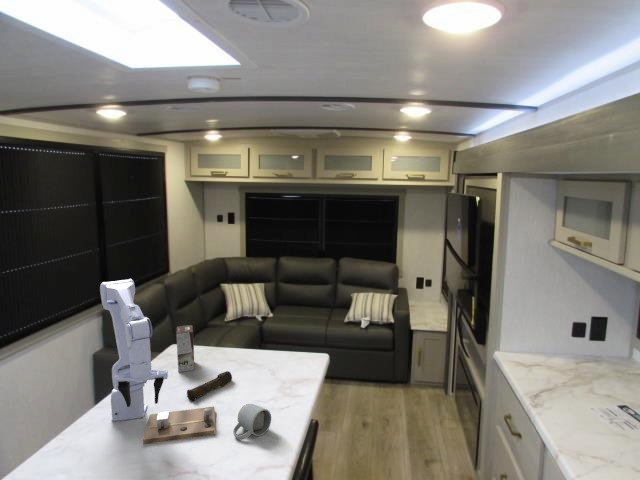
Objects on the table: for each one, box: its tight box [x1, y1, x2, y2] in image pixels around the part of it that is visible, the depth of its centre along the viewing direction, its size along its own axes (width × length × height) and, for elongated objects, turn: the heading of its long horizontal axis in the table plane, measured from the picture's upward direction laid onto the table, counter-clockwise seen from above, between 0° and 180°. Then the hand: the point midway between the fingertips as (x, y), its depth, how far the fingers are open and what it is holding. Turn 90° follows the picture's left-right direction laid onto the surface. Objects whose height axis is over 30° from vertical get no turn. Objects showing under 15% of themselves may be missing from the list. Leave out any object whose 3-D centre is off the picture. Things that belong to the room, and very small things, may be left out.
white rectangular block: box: [157, 411, 170, 429], centre depth 130 cm, size 3×5×3 cm, turn 14°
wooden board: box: [142, 406, 216, 446], centre depth 132 cm, size 20×14×5 cm
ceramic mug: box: [232, 403, 272, 441], centre depth 129 cm, size 11×8×8 cm
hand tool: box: [186, 370, 233, 402], centre depth 155 cm, size 19×4×5 cm, turn 141°
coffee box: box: [175, 324, 195, 373], centre depth 174 cm, size 9×6×16 cm
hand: (142, 403), depth 128 cm, fingers open, 7 cm apart
